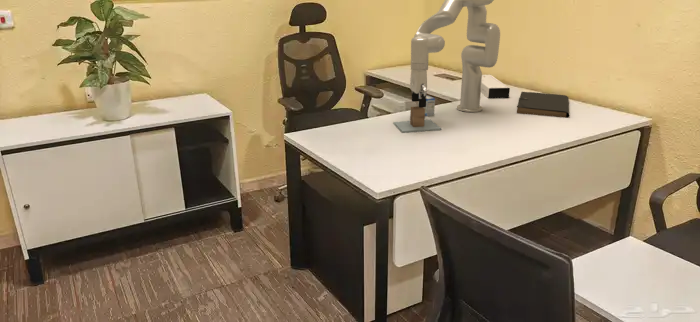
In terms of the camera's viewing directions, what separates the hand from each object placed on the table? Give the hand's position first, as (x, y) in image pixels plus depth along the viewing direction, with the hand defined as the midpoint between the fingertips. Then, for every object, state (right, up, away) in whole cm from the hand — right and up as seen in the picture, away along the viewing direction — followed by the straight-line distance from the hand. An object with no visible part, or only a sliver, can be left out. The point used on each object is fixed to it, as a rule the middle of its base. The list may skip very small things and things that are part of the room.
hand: (418, 104), depth 237 cm
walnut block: (0, -9, +3) cm, 10 cm away
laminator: (+49, +14, +65) cm, 83 cm away
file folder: (+67, +1, +33) cm, 75 cm away
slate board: (0, -10, +3) cm, 10 cm away
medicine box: (+6, -3, +23) cm, 24 cm away
